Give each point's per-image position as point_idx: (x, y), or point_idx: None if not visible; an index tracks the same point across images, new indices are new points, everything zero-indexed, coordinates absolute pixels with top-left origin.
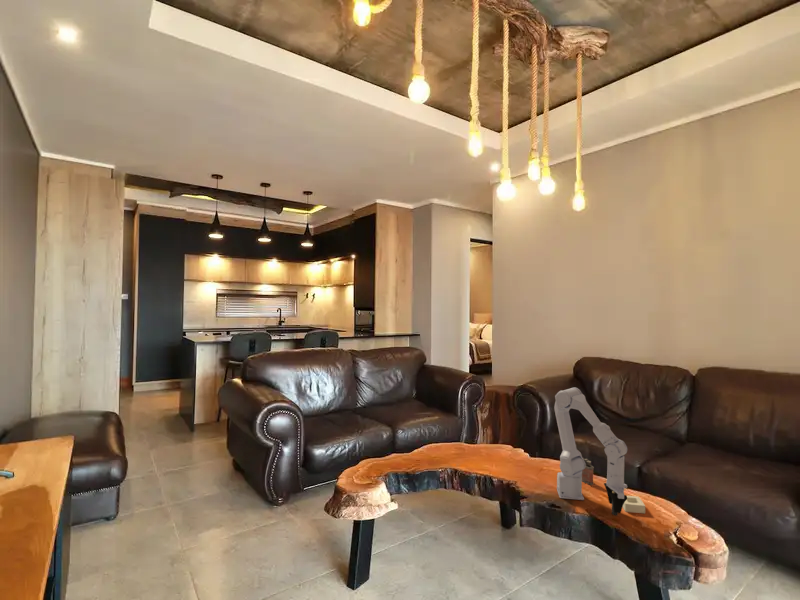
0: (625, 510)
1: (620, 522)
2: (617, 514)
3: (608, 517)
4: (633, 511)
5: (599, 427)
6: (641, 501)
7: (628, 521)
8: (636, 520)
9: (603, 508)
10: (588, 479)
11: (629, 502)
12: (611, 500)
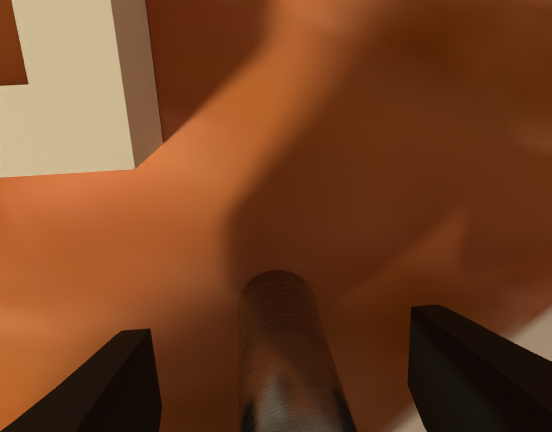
0: (158, 143)
1: (478, 274)
2: (296, 277)
3: (380, 385)
4: (144, 10)
5: None
6: None
7: (441, 167)
8: (396, 38)
9: (165, 408)
10: None
11: (27, 59)
12: (145, 428)
